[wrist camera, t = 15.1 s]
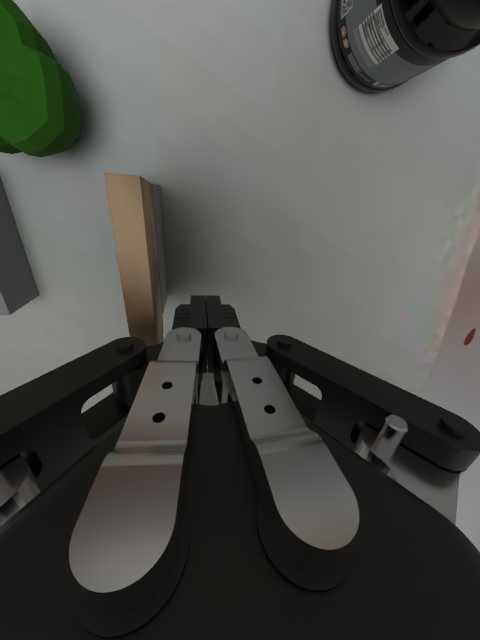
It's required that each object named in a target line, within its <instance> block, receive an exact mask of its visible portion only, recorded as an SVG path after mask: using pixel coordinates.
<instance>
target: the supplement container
mask: <svg viewBox="0 0 480 640" xmlns="http://www.w3.org/2000/svg"><path fill="white" fill-rule="evenodd" d="M331 32H332V42H333V48H334V52H335V56H336V59H337V62H338V64H339V66H340V69H341V70H342V72H343V74H344V75H345V77H346V78H347V79H348V80H349V81H350V82H351V83H352V84H353V85H354V86H356V87H357V88H359V89H361V90H363V91H367V92H374V93H378V92H384V91H388V90H391V89H394V88H396V87H398V86H400V85H402V84H403V83H405V82H406V81H408V80H409V79H411V78H413V77H415V76H417V75H419V74H421V73H422V72H424V71H426V70H428V69H430V68H432V67H434V66H436V65H438V64H440V63H442V62H444V61H446V60H447V59H449V58H452V57H456V56H459V55H461V54H464V53H466V52H468V51H470V50H472V49H473V48H475V47H477V46H478V45H480V0H333V7H332V19H331Z"/></svg>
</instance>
